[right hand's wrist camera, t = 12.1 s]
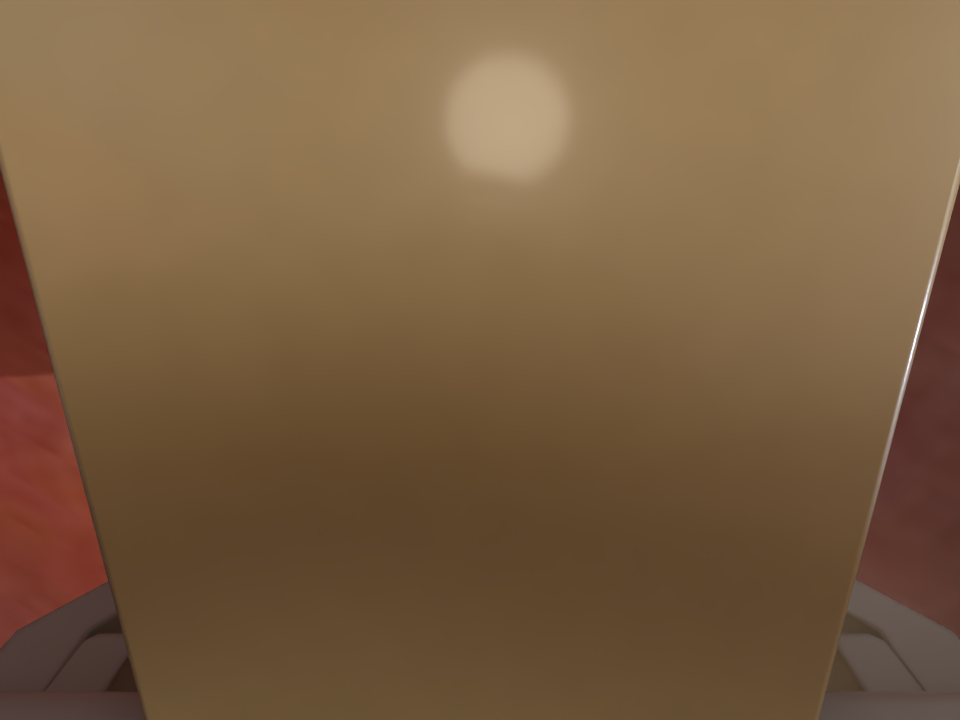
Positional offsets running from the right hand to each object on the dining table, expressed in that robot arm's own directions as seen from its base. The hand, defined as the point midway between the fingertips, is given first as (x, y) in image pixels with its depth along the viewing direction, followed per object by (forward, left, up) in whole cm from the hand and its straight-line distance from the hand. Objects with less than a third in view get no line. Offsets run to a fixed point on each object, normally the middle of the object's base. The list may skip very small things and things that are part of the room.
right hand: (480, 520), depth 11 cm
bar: (+8, +3, -3) cm, 9 cm away
